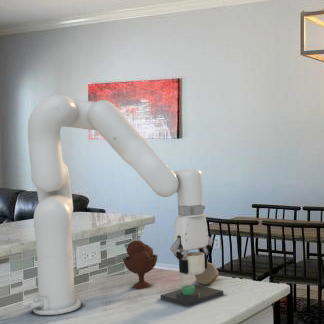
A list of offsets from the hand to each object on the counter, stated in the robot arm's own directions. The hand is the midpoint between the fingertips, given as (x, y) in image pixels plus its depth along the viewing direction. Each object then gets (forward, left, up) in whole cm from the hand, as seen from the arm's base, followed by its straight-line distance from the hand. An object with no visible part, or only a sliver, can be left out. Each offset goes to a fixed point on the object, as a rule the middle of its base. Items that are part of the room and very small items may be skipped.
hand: (193, 269), depth 162 cm
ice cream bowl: (-3, +22, -8) cm, 23 cm away
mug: (+13, +8, -8) cm, 17 cm away
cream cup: (0, 0, -1) cm, 1 cm away
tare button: (-7, -5, -5) cm, 10 cm away
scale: (-2, -1, -8) cm, 8 cm away
